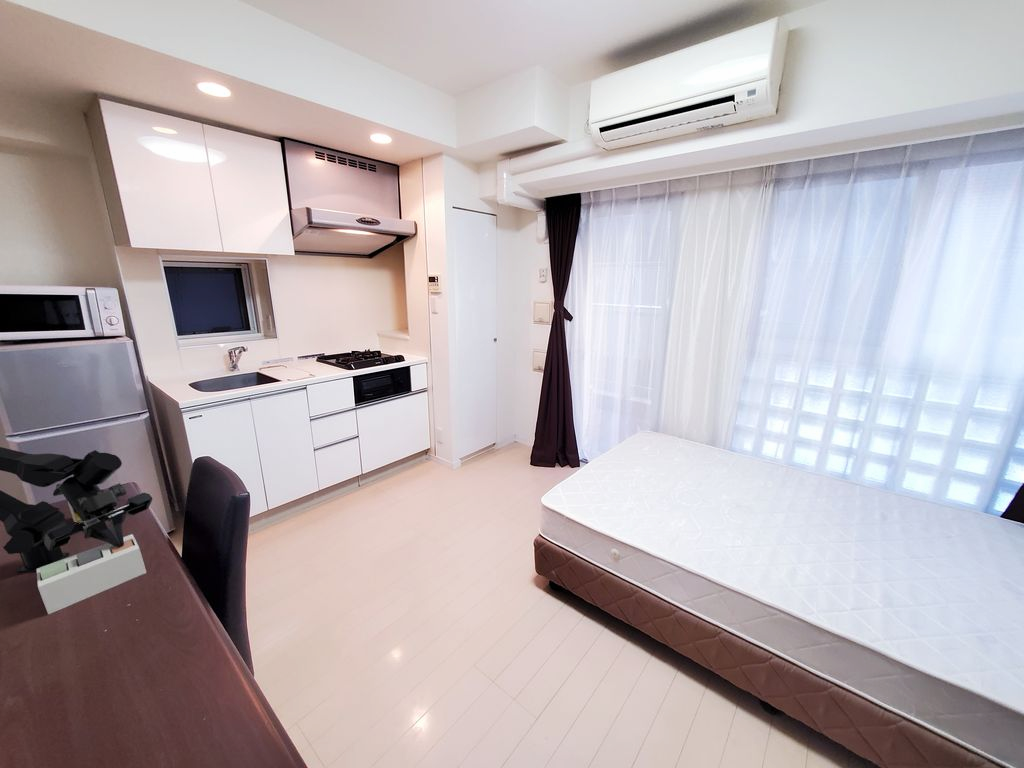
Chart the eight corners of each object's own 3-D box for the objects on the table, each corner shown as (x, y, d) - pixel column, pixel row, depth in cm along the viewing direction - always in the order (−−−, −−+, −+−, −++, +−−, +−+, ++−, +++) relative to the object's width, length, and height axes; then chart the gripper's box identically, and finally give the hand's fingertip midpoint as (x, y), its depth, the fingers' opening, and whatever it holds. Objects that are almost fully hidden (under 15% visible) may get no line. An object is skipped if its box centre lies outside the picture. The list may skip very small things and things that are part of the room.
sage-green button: (43, 576, 88) (40, 567, 87) (67, 567, 91) (64, 559, 90) (44, 584, 86) (40, 574, 85) (68, 574, 88) (65, 565, 88)
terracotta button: (113, 556, 96) (110, 547, 96) (133, 548, 99) (130, 540, 99) (115, 562, 94) (113, 553, 94) (136, 554, 97) (133, 545, 96)
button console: (46, 594, 90) (36, 568, 89) (139, 557, 102) (132, 534, 101) (48, 614, 85) (38, 587, 83) (146, 572, 97) (139, 548, 95)
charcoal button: (79, 563, 92) (76, 554, 91) (100, 555, 95) (98, 546, 94) (80, 570, 90) (77, 561, 89) (103, 561, 92) (100, 552, 92)
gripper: (33, 499, 85) (73, 555, 84) (139, 463, 102) (174, 510, 101) (28, 523, 91) (66, 577, 89) (130, 485, 107) (163, 530, 106)
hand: (121, 546), depth 96 cm, fingers closed, pressing on terracotta button
